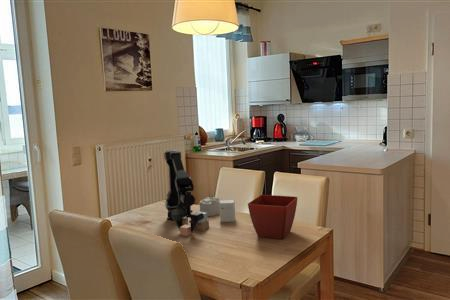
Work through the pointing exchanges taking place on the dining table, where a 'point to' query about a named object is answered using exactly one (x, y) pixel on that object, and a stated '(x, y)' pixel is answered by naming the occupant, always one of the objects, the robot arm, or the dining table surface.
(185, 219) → the walnut block
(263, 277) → the dining table surface
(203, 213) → the slate middle block
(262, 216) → the plant pot
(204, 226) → the walnut base block
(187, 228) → the terracotta cube
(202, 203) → the lumpy-topped squat cylinder
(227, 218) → the small box
